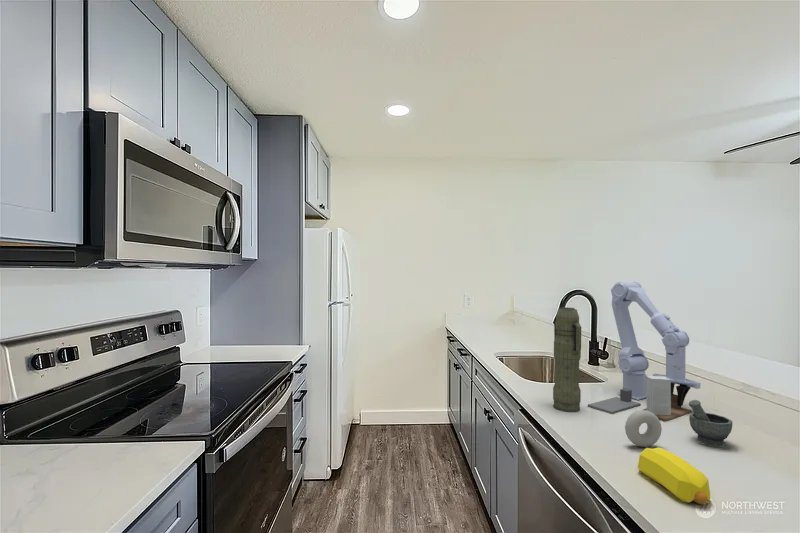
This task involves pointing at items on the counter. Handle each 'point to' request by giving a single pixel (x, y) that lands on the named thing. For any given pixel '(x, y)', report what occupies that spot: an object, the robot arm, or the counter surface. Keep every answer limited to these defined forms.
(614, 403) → the charcoal strip
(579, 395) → the thermos
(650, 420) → the donut
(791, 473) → the counter surface
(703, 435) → the mortar and pestle
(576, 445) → the counter surface
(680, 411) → the walnut strip
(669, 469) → the yellow banana
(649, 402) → the skincare box
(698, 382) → the robot arm
